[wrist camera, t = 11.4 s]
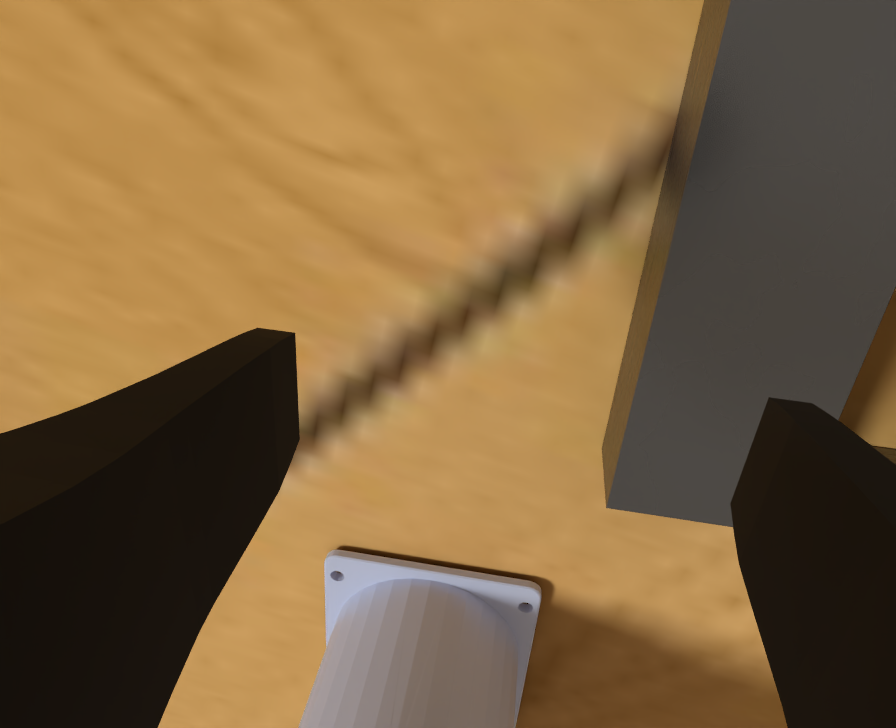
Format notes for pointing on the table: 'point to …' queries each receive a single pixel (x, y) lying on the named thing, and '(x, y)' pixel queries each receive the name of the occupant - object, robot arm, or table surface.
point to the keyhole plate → (758, 247)
